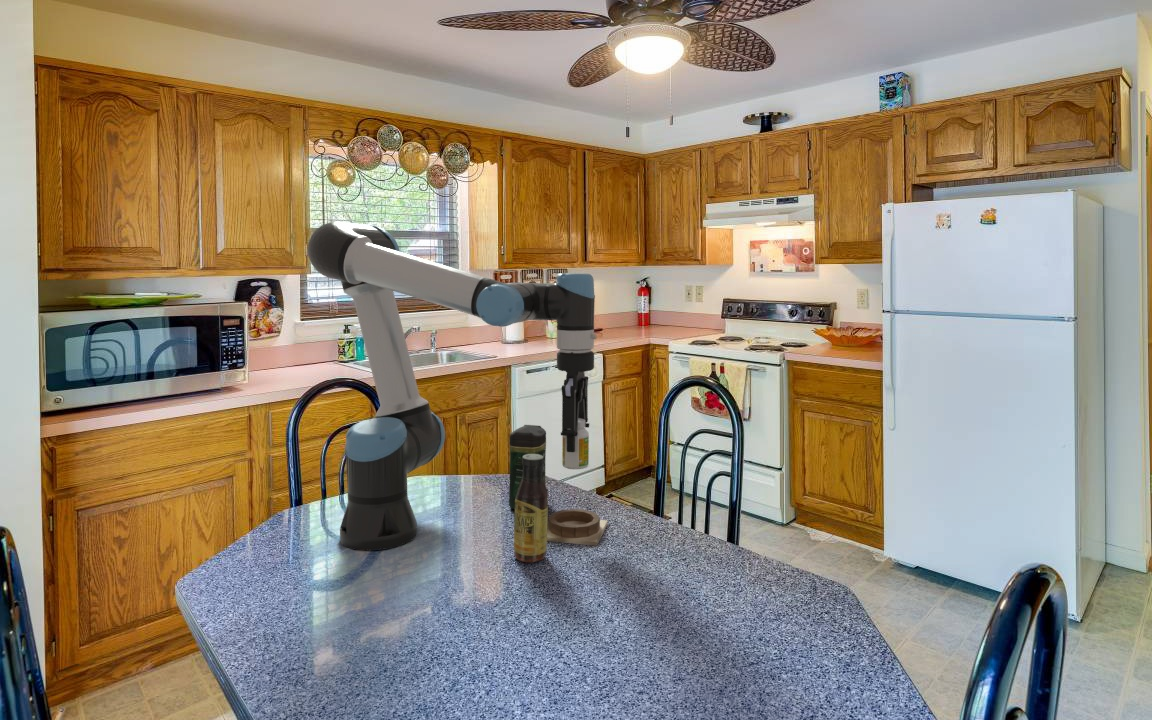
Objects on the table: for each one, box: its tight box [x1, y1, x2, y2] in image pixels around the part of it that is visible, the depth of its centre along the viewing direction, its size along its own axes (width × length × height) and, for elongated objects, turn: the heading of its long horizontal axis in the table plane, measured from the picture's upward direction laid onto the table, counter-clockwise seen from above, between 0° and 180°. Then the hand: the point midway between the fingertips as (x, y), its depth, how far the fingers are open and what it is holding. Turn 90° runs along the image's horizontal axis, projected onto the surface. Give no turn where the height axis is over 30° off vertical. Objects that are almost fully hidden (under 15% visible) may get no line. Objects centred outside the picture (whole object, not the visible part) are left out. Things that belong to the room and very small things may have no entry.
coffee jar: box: [508, 424, 547, 510], centre depth 158 cm, size 10×8×19 cm
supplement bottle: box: [561, 418, 590, 470], centre depth 141 cm, size 5×5×10 cm
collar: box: [547, 508, 609, 546], centre depth 143 cm, size 12×12×3 cm
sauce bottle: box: [513, 454, 549, 564], centre depth 129 cm, size 7×6×20 cm
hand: (575, 462), depth 141 cm, fingers closed on supplement bottle, 5 cm apart
